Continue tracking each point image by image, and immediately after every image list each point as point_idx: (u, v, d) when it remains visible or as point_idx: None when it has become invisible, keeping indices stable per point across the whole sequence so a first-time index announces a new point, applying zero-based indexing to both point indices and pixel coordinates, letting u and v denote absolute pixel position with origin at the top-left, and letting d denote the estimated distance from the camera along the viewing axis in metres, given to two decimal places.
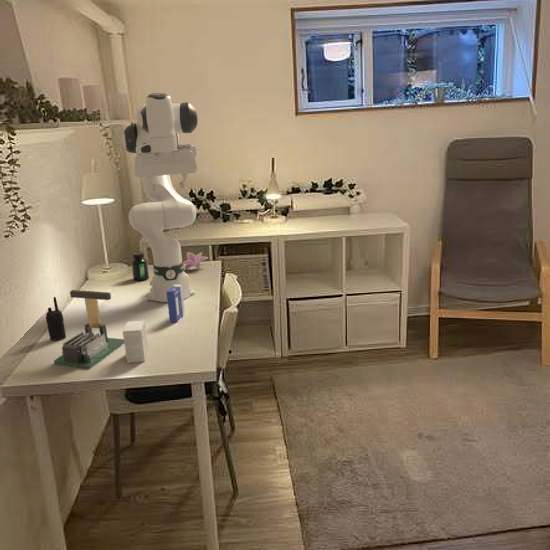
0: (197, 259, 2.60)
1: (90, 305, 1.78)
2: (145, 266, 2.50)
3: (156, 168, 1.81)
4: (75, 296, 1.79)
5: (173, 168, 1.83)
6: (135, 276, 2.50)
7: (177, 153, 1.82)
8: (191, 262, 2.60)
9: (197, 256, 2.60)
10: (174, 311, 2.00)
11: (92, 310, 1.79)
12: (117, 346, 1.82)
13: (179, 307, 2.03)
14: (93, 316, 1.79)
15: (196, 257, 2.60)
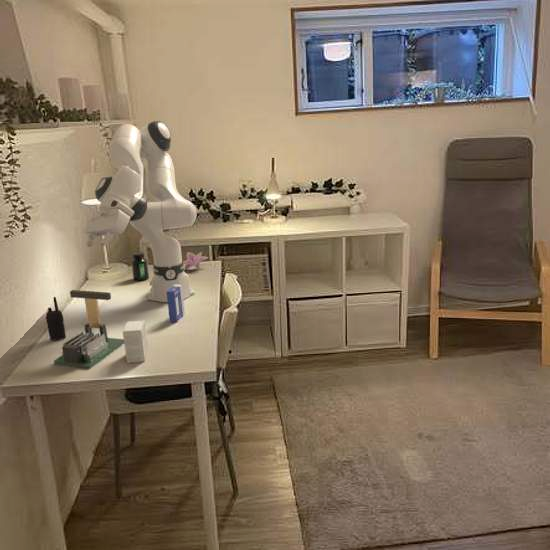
0: (197, 259, 2.60)
1: (90, 305, 1.78)
2: (145, 266, 2.50)
3: None
4: (75, 296, 1.79)
5: None
6: (135, 276, 2.50)
7: None
8: (191, 262, 2.60)
9: (197, 256, 2.60)
10: (174, 311, 2.00)
11: (92, 310, 1.79)
12: (117, 346, 1.82)
13: (179, 307, 2.03)
14: (93, 316, 1.79)
15: (196, 257, 2.60)
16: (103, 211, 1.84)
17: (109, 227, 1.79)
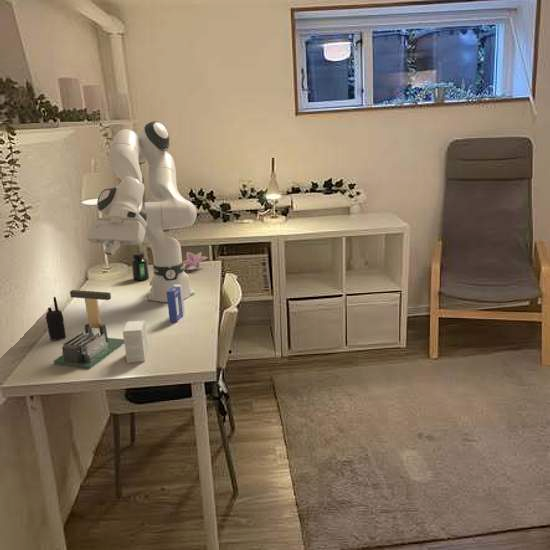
0: (197, 259, 2.60)
1: (90, 305, 1.78)
2: (145, 266, 2.50)
3: None
4: (75, 296, 1.79)
5: None
6: (135, 276, 2.50)
7: None
8: (191, 262, 2.60)
9: (197, 256, 2.60)
10: (174, 311, 2.00)
11: (92, 310, 1.79)
12: (117, 346, 1.82)
13: (179, 307, 2.03)
14: (93, 316, 1.79)
15: (196, 257, 2.60)
16: (116, 220, 1.88)
17: (129, 238, 1.84)
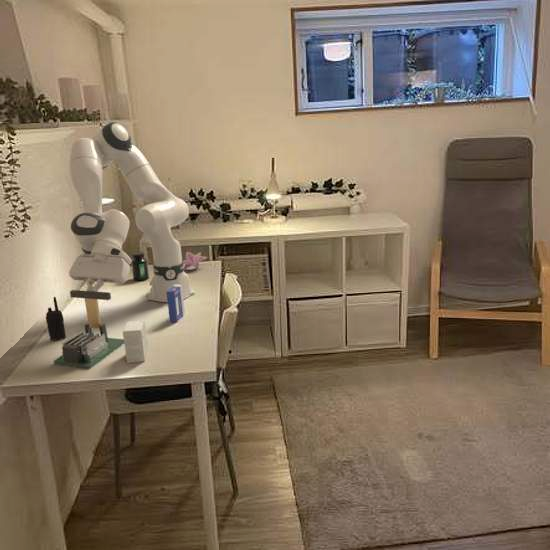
0: (196, 259, 2.61)
1: (90, 305, 1.78)
2: (145, 266, 2.50)
3: None
4: (75, 296, 1.79)
5: None
6: (135, 276, 2.50)
7: None
8: (190, 262, 2.60)
9: (196, 256, 2.60)
10: (174, 311, 2.00)
11: (92, 310, 1.79)
12: (117, 346, 1.82)
13: (179, 307, 2.03)
14: (93, 316, 1.79)
15: (195, 257, 2.60)
16: (99, 257, 1.81)
17: (112, 276, 1.78)
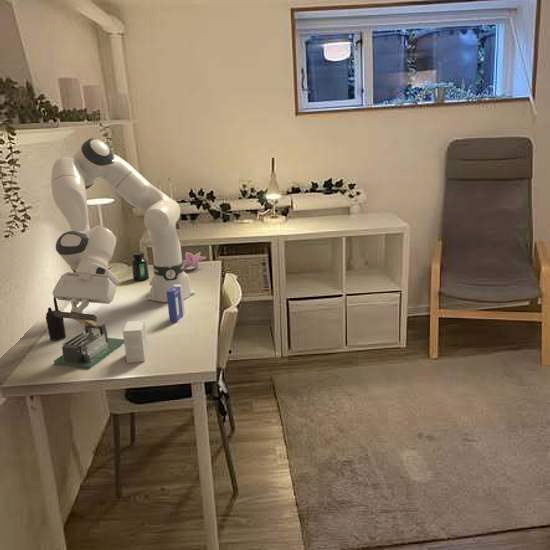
0: (195, 259, 2.61)
1: (80, 321, 1.74)
2: (145, 266, 2.50)
3: None
4: (61, 317, 1.73)
5: None
6: (135, 276, 2.50)
7: None
8: (189, 262, 2.60)
9: (195, 256, 2.60)
10: (174, 311, 2.00)
11: (85, 322, 1.76)
12: (117, 346, 1.82)
13: (179, 307, 2.03)
14: (88, 324, 1.77)
15: (194, 257, 2.60)
16: (84, 277, 1.74)
17: (97, 297, 1.70)
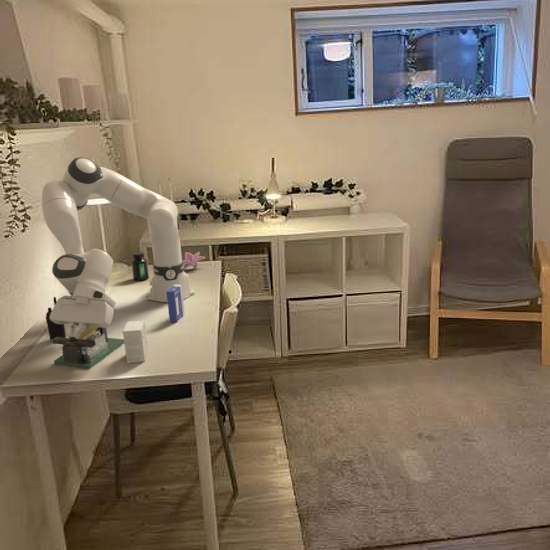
0: (195, 259, 2.61)
1: None
2: (145, 266, 2.50)
3: None
4: None
5: None
6: (135, 276, 2.50)
7: None
8: (189, 262, 2.61)
9: (195, 256, 2.60)
10: (174, 311, 2.00)
11: None
12: (117, 346, 1.82)
13: (179, 307, 2.03)
14: None
15: (194, 257, 2.60)
16: (81, 301, 1.73)
17: (95, 321, 1.70)
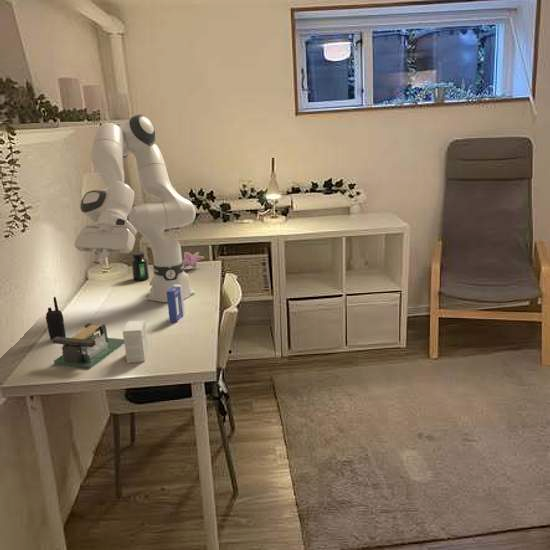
0: (194, 259, 2.61)
1: None
2: (145, 266, 2.50)
3: None
4: None
5: None
6: (135, 276, 2.50)
7: None
8: (188, 262, 2.61)
9: (194, 256, 2.61)
10: (174, 311, 2.00)
11: None
12: (117, 346, 1.82)
13: (179, 307, 2.03)
14: None
15: (193, 257, 2.61)
16: (104, 228, 1.81)
17: (118, 246, 1.78)
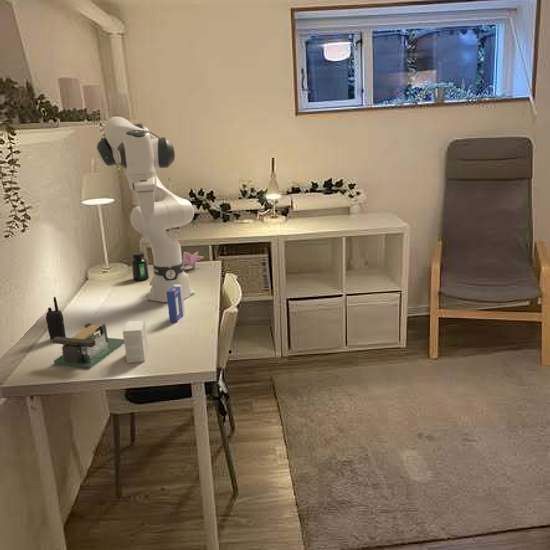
0: (193, 258, 2.62)
1: None
2: (145, 266, 2.50)
3: None
4: None
5: None
6: (135, 276, 2.50)
7: None
8: (187, 262, 2.61)
9: (193, 255, 2.61)
10: (174, 311, 2.00)
11: None
12: (117, 346, 1.82)
13: (179, 307, 2.03)
14: None
15: (192, 256, 2.61)
16: (134, 192, 1.81)
17: (142, 212, 1.77)
